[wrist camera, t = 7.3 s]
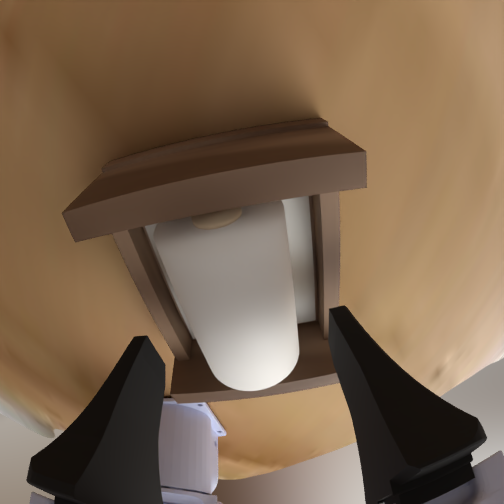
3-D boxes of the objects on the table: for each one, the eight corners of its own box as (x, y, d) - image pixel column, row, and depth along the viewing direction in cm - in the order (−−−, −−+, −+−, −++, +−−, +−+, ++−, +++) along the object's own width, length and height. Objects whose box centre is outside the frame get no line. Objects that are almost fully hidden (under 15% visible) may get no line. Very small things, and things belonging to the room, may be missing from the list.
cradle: (329, 320, 19) (348, 382, 15) (185, 342, 20) (178, 405, 16) (321, 118, 12) (366, 145, 8) (109, 162, 13) (59, 208, 8)
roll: (284, 311, 17) (312, 376, 13) (205, 332, 17) (216, 402, 13) (264, 175, 13) (303, 225, 9) (156, 203, 12) (145, 266, 8)
